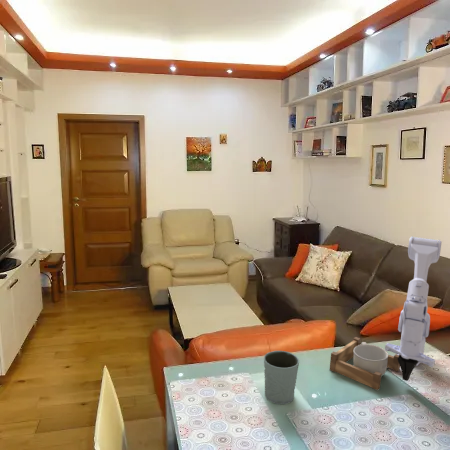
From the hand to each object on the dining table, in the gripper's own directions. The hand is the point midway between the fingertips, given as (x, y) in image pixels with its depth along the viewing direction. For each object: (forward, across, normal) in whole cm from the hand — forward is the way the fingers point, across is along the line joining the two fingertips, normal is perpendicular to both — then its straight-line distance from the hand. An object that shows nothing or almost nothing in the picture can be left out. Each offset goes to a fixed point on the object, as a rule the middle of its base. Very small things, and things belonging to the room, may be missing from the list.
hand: (405, 379), depth 134 cm
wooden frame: (+2, -13, 0) cm, 13 cm away
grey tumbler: (+3, -24, -34) cm, 42 cm away
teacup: (+3, -12, 0) cm, 13 cm away
